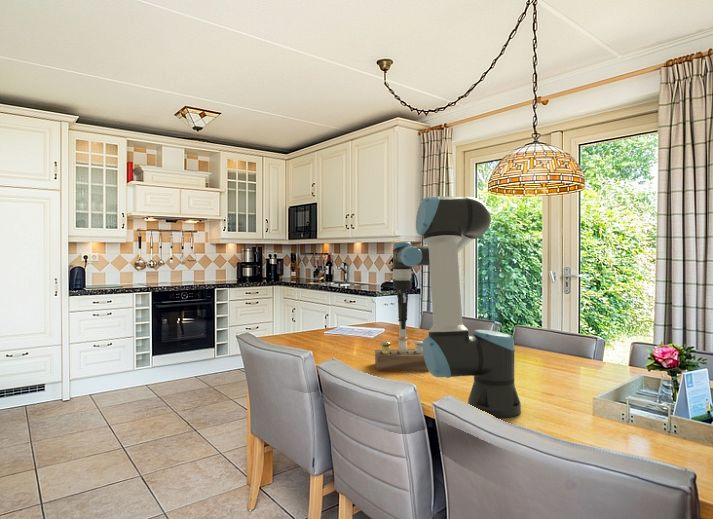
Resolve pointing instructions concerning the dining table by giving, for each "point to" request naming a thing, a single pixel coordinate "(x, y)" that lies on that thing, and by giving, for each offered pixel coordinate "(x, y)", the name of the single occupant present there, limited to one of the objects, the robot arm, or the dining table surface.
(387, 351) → the brass plug
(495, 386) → the robot arm
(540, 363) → the dining table surface
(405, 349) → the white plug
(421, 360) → the brown wooden block
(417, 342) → the grey plug
